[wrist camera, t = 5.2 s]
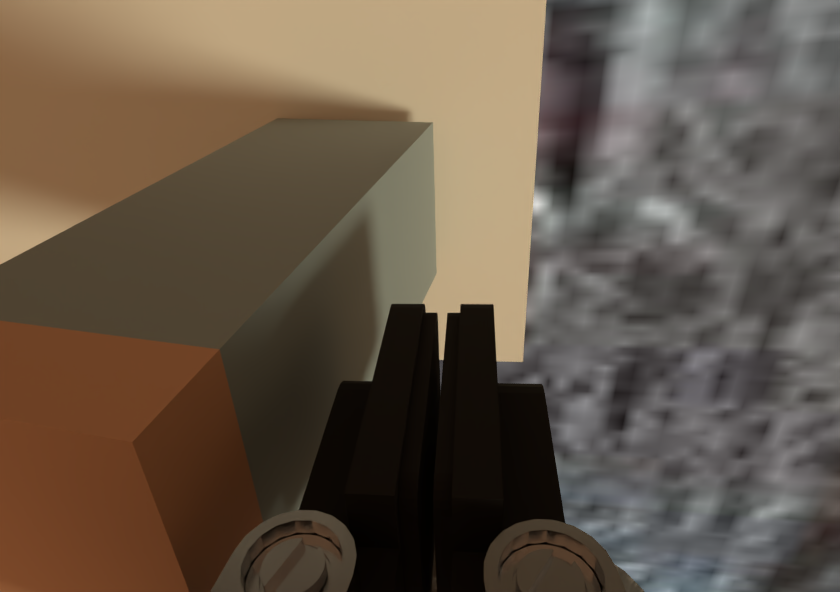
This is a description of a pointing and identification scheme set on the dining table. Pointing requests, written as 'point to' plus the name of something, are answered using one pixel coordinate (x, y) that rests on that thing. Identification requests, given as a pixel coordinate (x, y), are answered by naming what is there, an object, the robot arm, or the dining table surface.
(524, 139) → the mat
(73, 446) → the block
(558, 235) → the dining table surface
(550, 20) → the dining table surface
